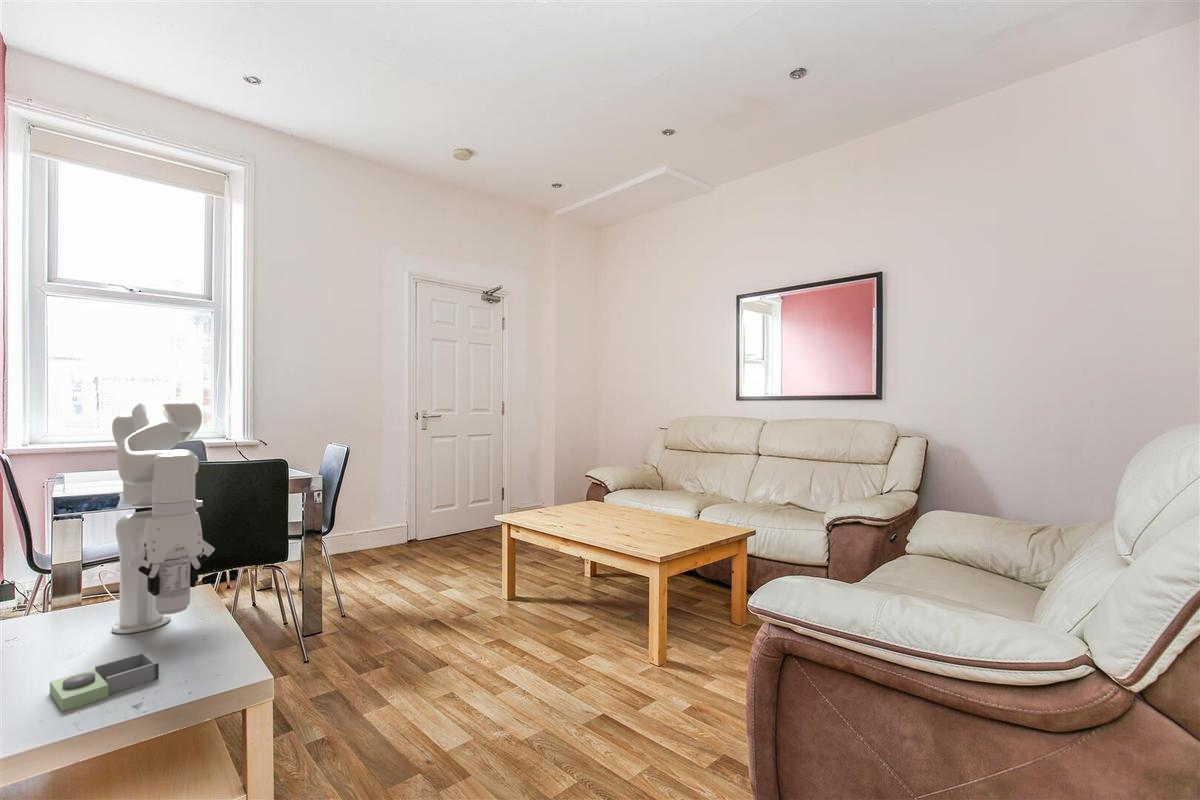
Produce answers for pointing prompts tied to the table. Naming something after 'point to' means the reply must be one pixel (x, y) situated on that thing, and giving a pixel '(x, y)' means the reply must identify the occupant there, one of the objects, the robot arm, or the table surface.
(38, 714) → the table surface
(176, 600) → the energy drink can
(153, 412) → the robot arm
